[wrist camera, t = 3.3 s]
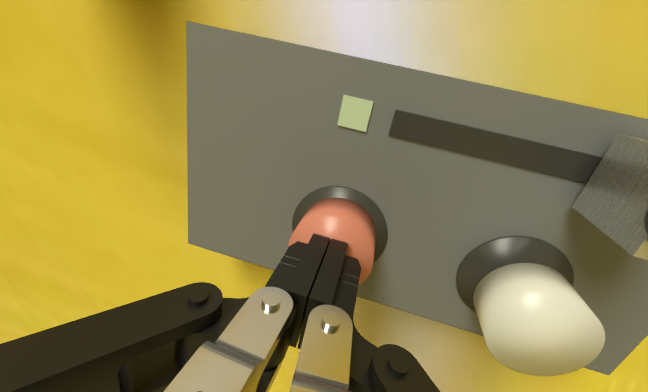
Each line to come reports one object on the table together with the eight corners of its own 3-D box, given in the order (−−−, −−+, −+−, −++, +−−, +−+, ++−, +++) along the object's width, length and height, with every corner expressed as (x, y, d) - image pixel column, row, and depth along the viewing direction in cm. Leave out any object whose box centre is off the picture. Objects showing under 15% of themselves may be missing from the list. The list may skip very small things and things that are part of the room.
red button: (385, 210, 13) (384, 232, 11) (365, 272, 15) (361, 301, 13) (308, 188, 14) (294, 207, 12) (296, 252, 15) (283, 276, 13)
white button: (593, 279, 11) (630, 319, 9) (544, 343, 13) (568, 388, 11) (495, 251, 12) (512, 285, 10) (459, 317, 13) (469, 356, 11)
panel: (702, 131, 13) (822, 156, 9) (566, 312, 18) (610, 377, 14) (234, 31, 16) (184, 20, 12) (225, 212, 20) (187, 244, 17)
